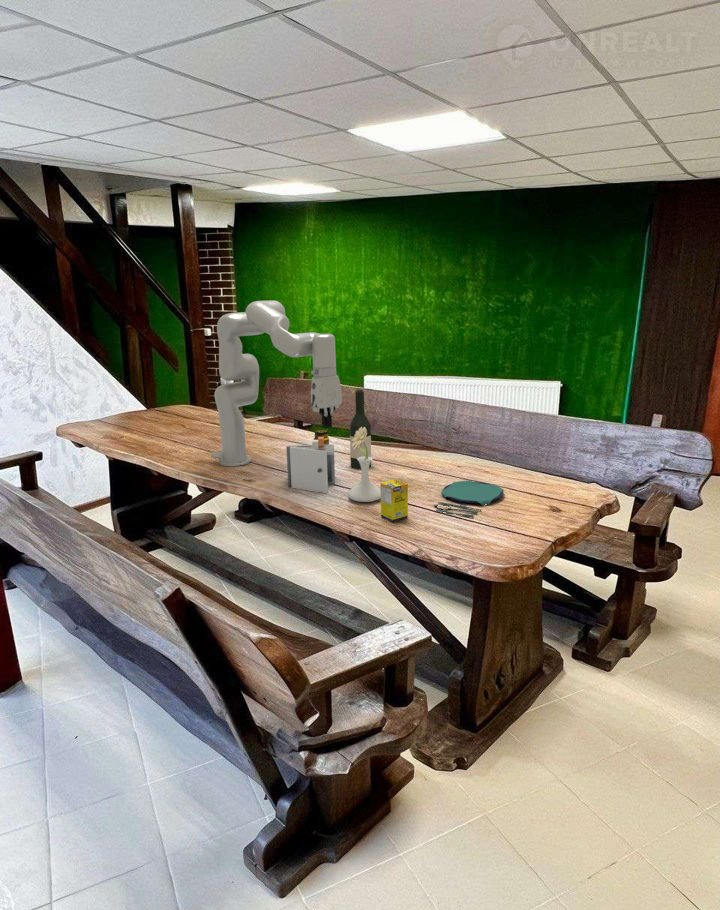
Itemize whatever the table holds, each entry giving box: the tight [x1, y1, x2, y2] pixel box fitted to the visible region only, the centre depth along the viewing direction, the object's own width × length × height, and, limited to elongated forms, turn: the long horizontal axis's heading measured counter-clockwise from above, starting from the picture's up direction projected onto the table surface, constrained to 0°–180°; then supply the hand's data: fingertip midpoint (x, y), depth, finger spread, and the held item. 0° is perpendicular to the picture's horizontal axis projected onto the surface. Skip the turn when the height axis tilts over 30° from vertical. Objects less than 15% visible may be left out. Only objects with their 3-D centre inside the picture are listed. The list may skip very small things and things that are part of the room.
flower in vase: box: [347, 427, 381, 503], centre depth 194 cm, size 13×11×25 cm
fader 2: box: [318, 437, 324, 446], centre depth 217 cm, size 2×2×3 cm
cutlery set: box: [433, 480, 505, 518], centre depth 196 cm, size 20×30×2 cm, turn 148°
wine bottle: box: [349, 388, 372, 470], centre depth 230 cm, size 8×8×30 cm
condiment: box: [313, 429, 330, 445], centre depth 242 cm, size 7×8×12 cm
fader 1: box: [311, 439, 318, 449], centre depth 213 cm, size 2×2×3 cm
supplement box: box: [380, 478, 409, 522], centre depth 181 cm, size 6×6×11 cm
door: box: [286, 445, 329, 494], centre depth 206 cm, size 16×2×14 cm, turn 62°
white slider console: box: [289, 444, 336, 486], centre depth 216 cm, size 16×10×12 cm, turn 92°
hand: (327, 426), depth 203 cm, fingers closed
